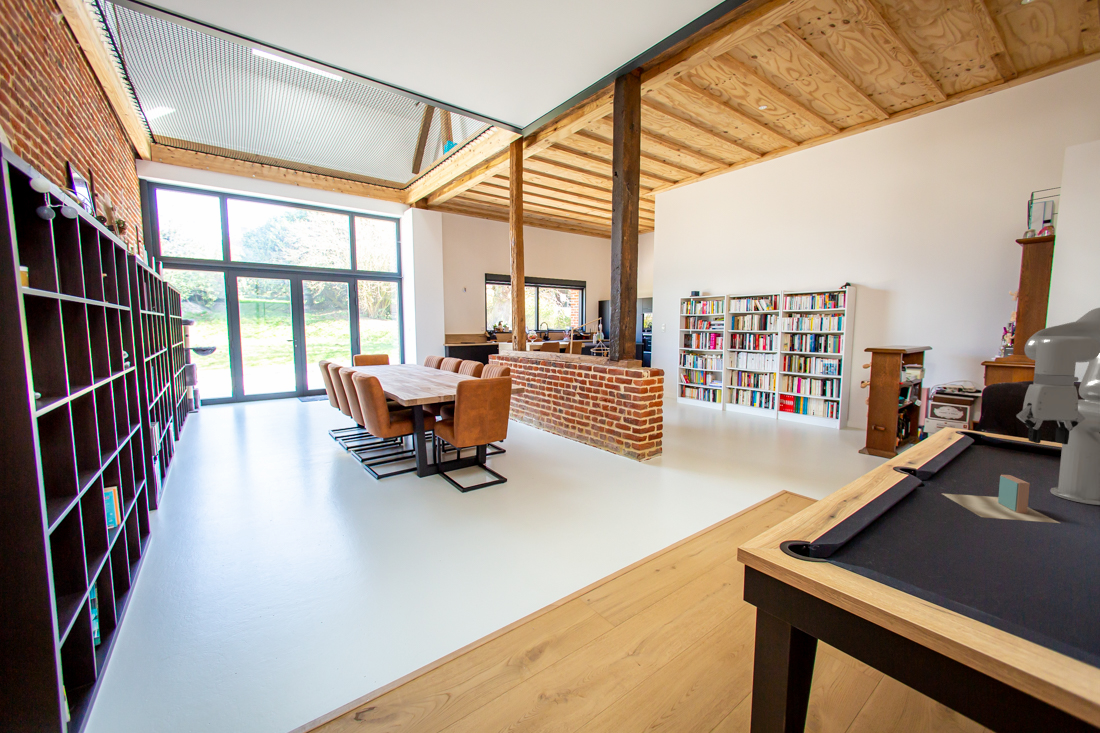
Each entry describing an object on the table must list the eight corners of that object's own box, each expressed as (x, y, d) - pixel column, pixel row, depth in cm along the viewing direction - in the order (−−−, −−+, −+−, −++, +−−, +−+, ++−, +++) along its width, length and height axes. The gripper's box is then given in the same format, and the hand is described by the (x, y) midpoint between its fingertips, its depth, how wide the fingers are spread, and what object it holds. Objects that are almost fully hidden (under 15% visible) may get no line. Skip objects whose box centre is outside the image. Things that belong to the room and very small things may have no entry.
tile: (1007, 503, 132) (1010, 475, 131) (1027, 513, 125) (1029, 483, 124) (997, 503, 132) (999, 474, 131) (1015, 512, 125) (1018, 482, 125)
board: (1008, 500, 136) (1008, 497, 136) (1060, 526, 119) (1060, 523, 119) (940, 496, 140) (941, 493, 140) (981, 520, 123) (981, 517, 123)
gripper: (1078, 379, 125) (1072, 440, 127) (1006, 378, 129) (1001, 438, 131) (1104, 382, 118) (1098, 447, 119) (1027, 381, 122) (1021, 444, 123)
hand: (1047, 442), depth 125 cm, fingers open, 5 cm apart
